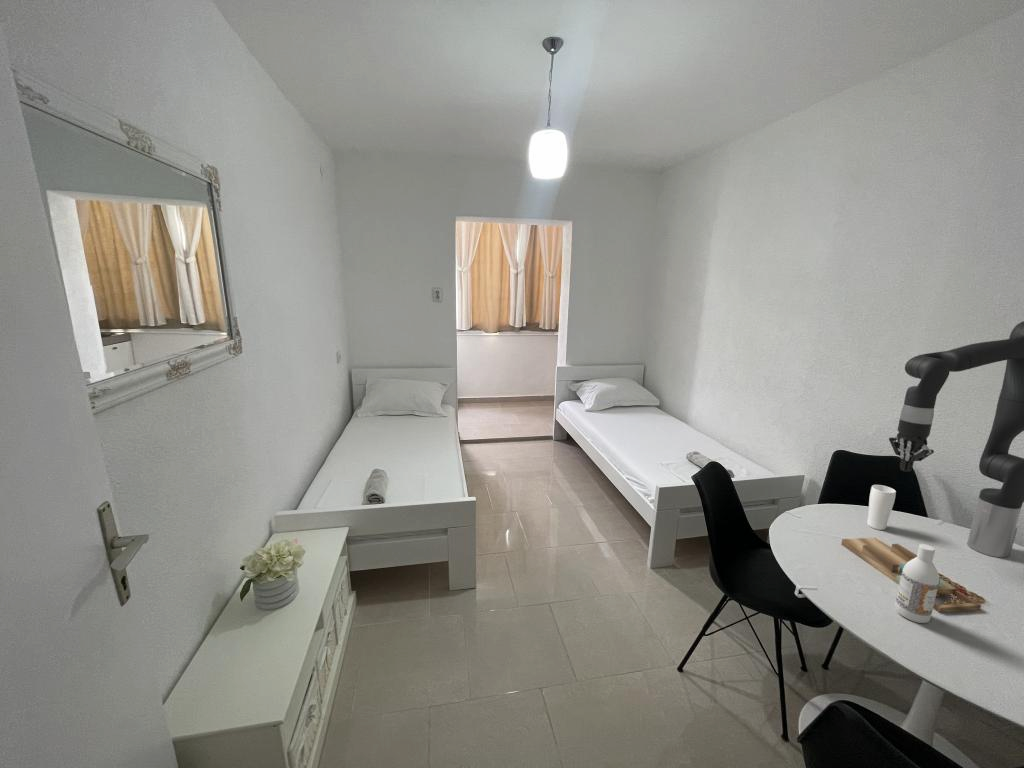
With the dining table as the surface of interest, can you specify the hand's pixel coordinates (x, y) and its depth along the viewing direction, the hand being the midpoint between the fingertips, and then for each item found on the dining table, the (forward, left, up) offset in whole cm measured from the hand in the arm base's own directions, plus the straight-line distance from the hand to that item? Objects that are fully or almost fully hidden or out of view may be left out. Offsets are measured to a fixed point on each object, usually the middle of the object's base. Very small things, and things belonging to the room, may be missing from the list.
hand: (905, 470), depth 139 cm
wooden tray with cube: (+10, +14, -27) cm, 32 cm away
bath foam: (+24, +30, -27) cm, 47 cm away
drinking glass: (-6, -11, -27) cm, 30 cm away
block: (+11, +19, -25) cm, 33 cm away
